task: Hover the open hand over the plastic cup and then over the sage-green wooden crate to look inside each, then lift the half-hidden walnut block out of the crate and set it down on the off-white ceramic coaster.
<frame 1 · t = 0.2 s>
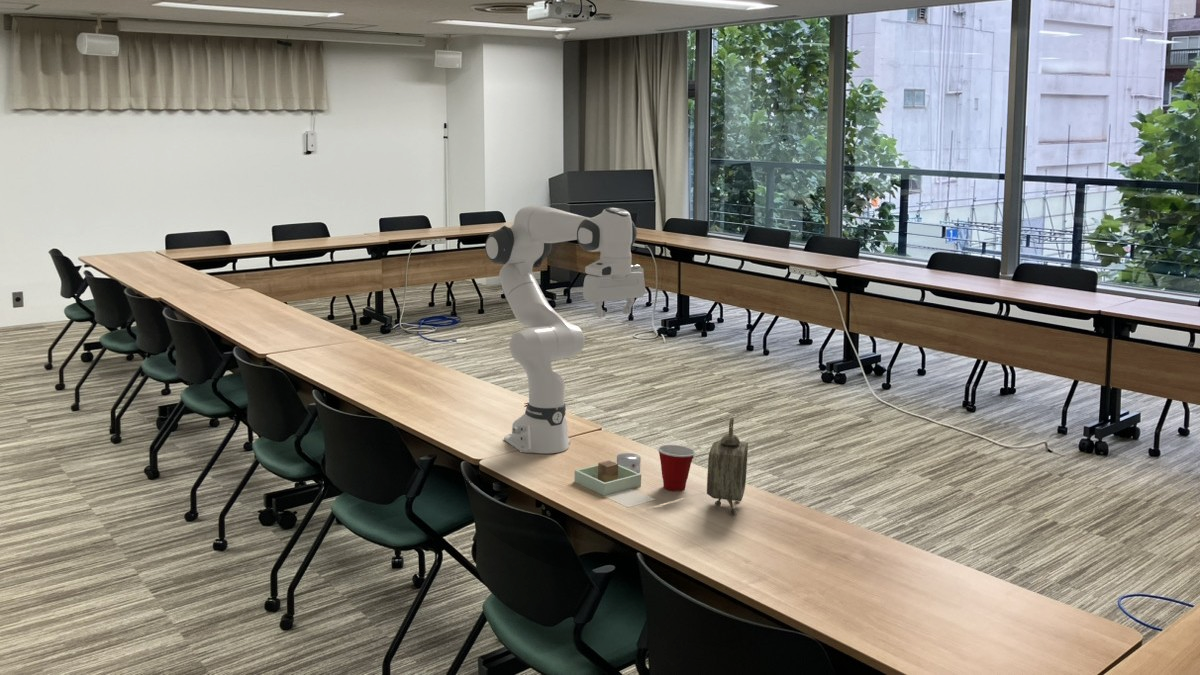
hand: (614, 315, 290), 48 cm above the table, fingers open, 8 cm apart
crate: (607, 485, 291), on the table
coaster: (629, 499, 280), on the table
plastic cup: (674, 489, 290), on the table
walnut block: (607, 483, 291), point 1 cm above the table, touching crate
metal tin: (628, 473, 302), on the table
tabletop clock: (725, 507, 277), on the table
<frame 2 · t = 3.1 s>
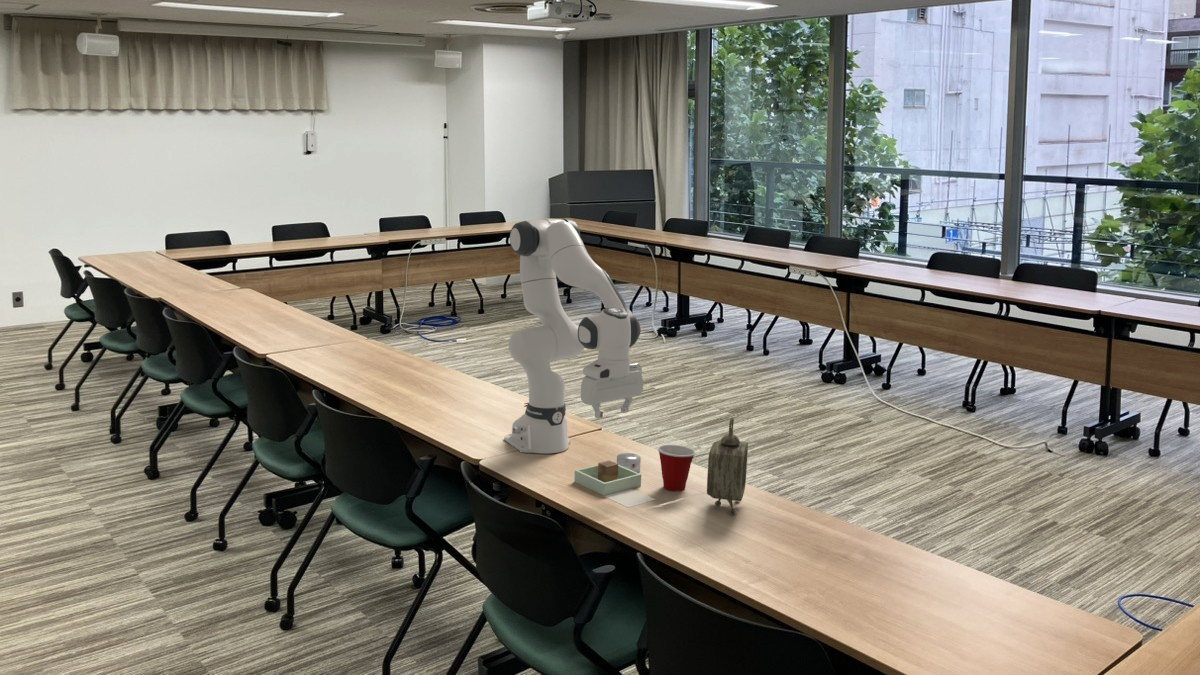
hand: (611, 414, 287), 21 cm above the table, fingers open, 8 cm apart
nothing on the table moved.
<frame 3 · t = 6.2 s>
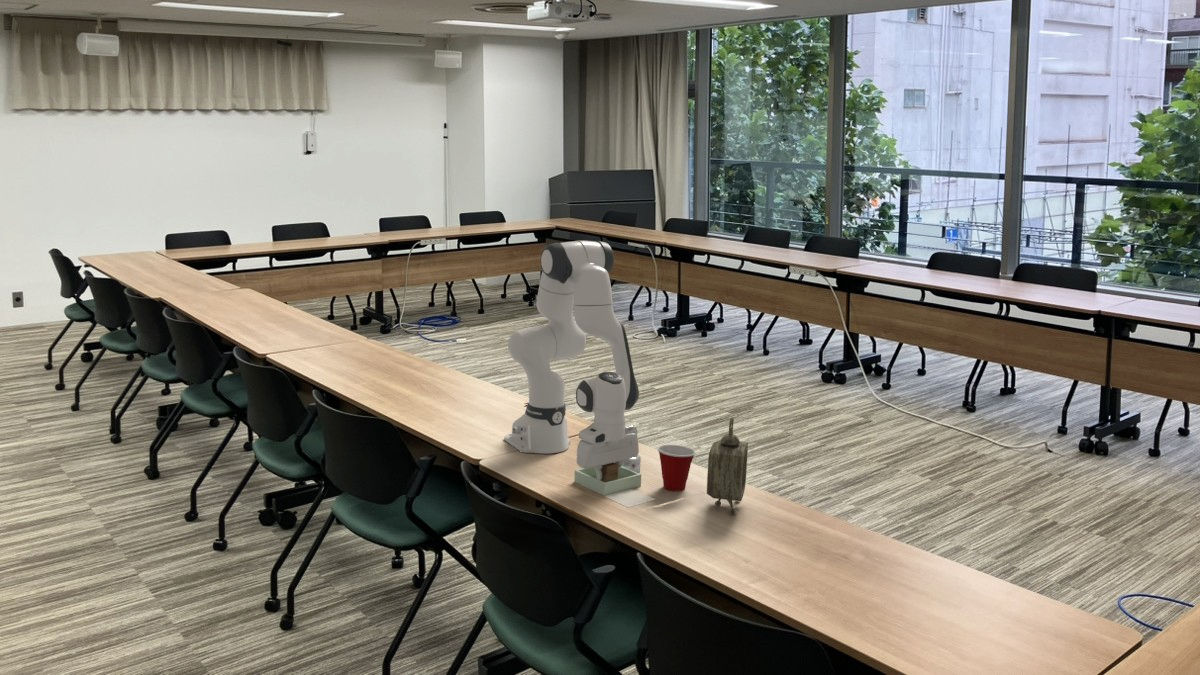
hand: (607, 477, 290), 3 cm above the table, fingers closed on walnut block, 4 cm apart
walnut block: (607, 483, 291), point 1 cm above the table, touching crate, gripper
everything else where it was.
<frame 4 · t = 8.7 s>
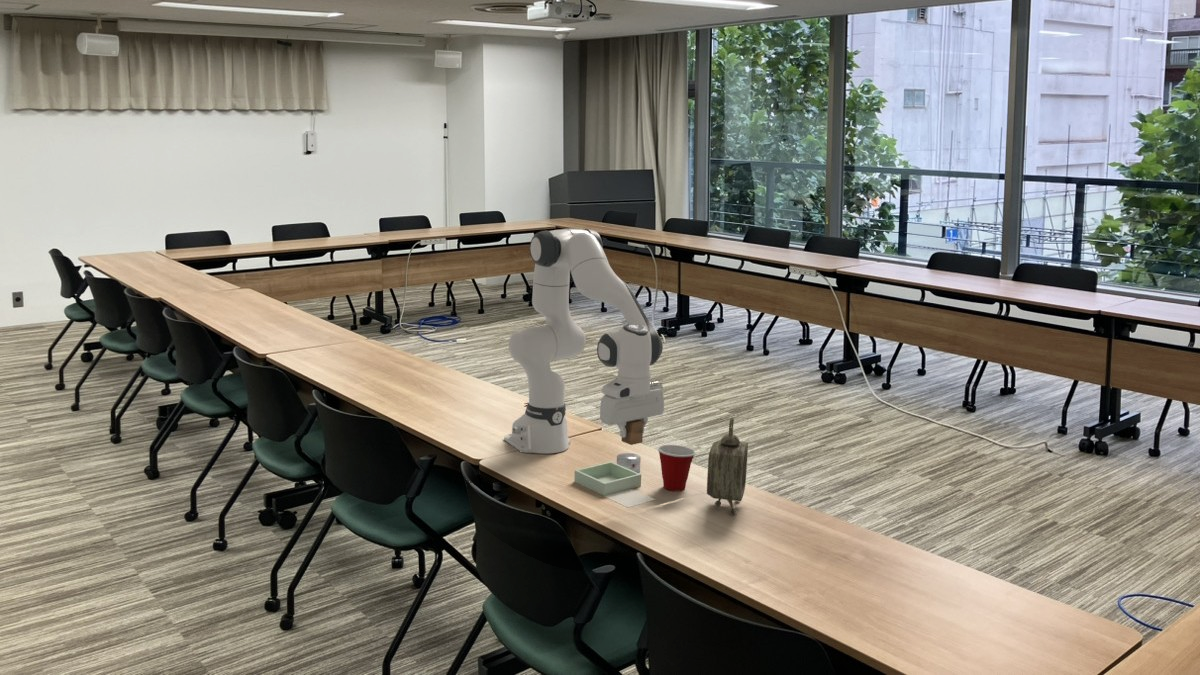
hand: (632, 435, 277), 19 cm above the table, fingers closed on walnut block, 4 cm apart
walnut block: (631, 441, 277), point 17 cm above the table, touching gripper
everything else where it was.
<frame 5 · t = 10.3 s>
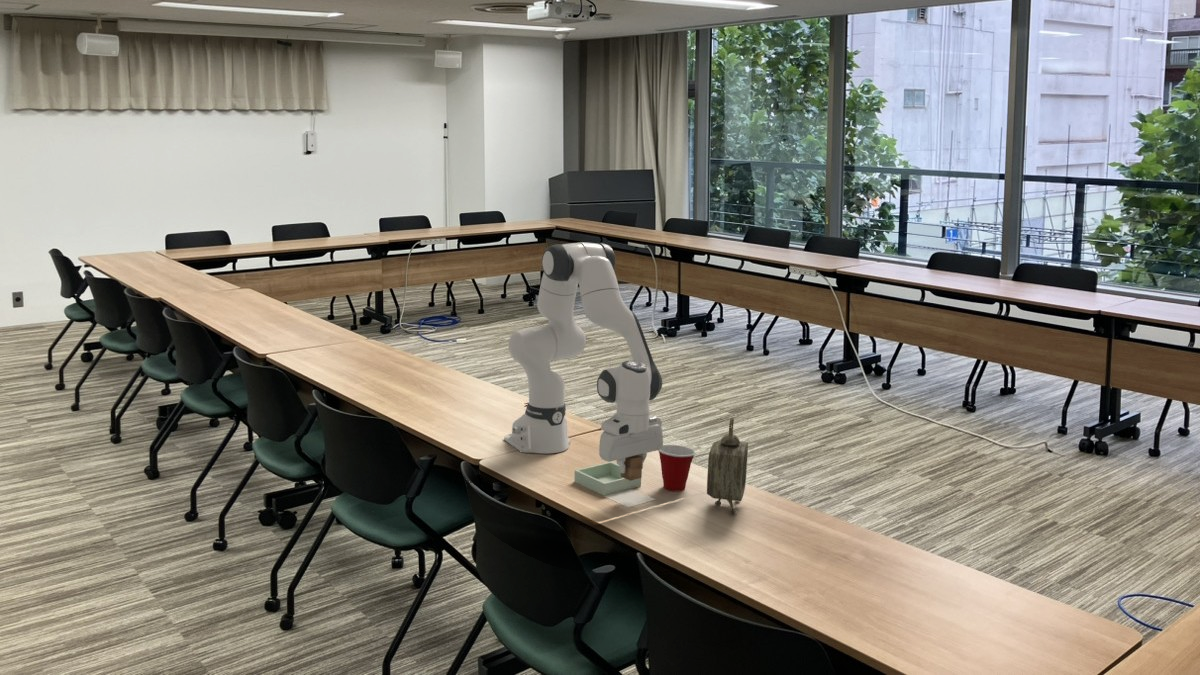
hand: (631, 470, 279), 8 cm above the table, fingers closed on walnut block, 4 cm apart
walnut block: (631, 477, 279), point 7 cm above the table, touching gripper
everything else where it was.
when the fingers open (4 cm above the table, at t = 11.5 s): walnut block drops 2 cm, resting on coaster.
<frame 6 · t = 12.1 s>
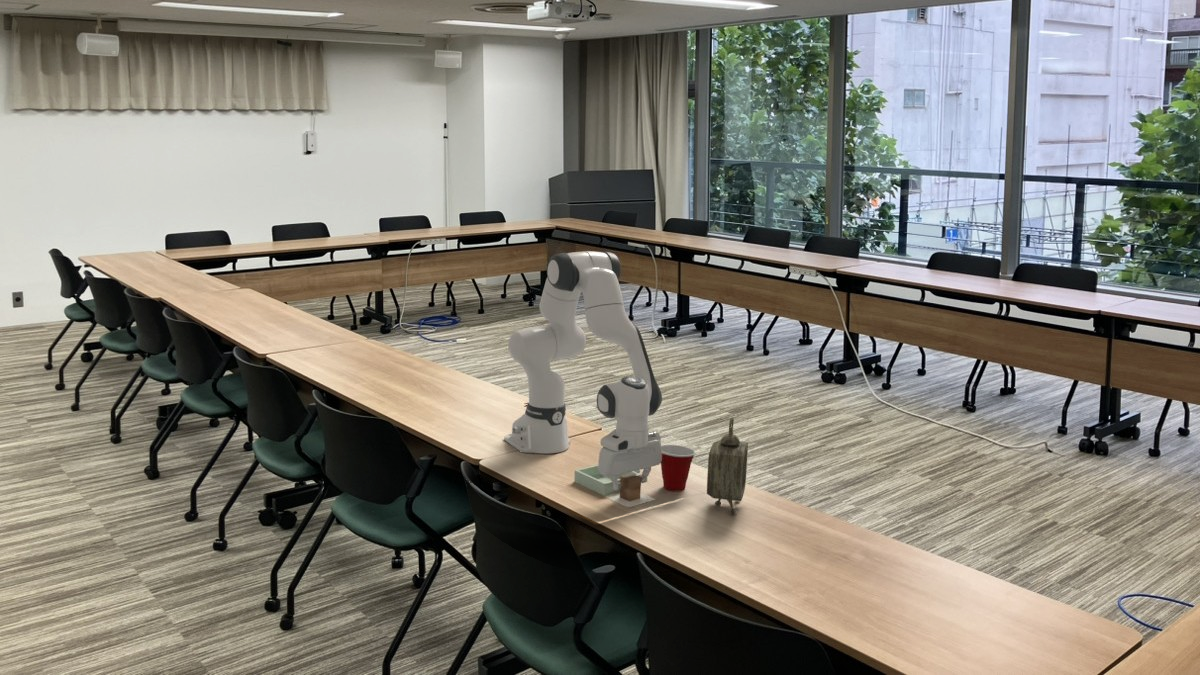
hand: (630, 485, 280), 4 cm above the table, fingers open, 8 cm apart
walnut block: (629, 497, 280), point 1 cm above the table, touching coaster
everything else where it was.
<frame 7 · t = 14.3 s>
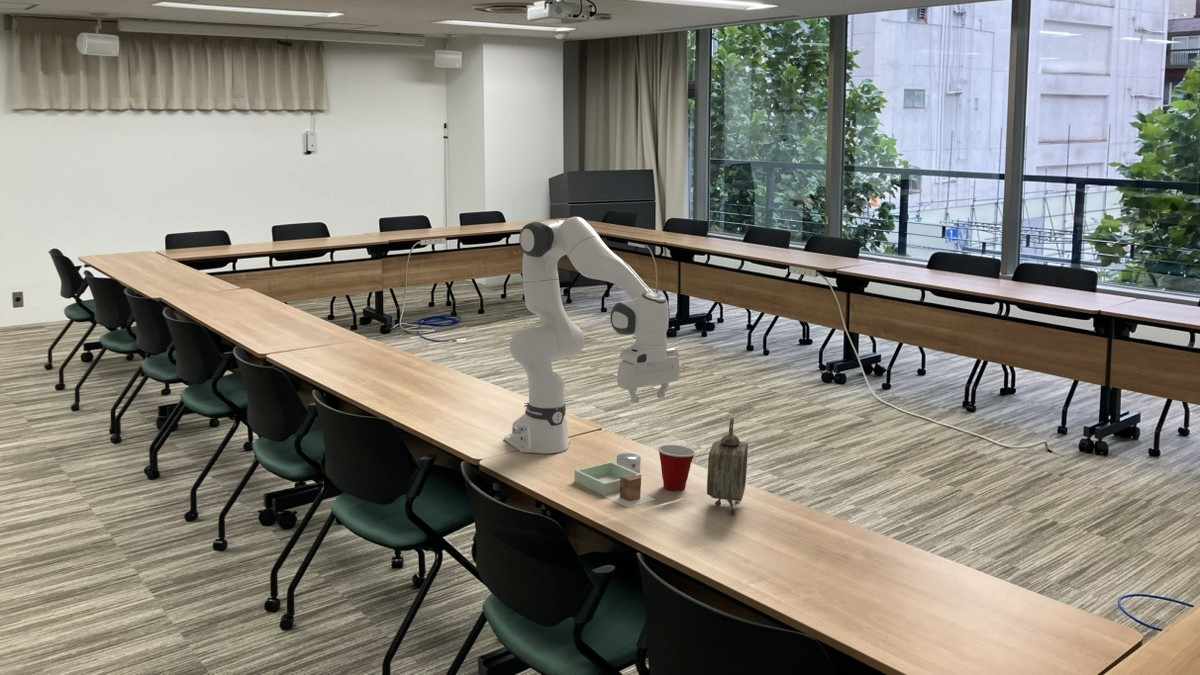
hand: (647, 400, 286), 25 cm above the table, fingers open, 8 cm apart
nothing on the table moved.
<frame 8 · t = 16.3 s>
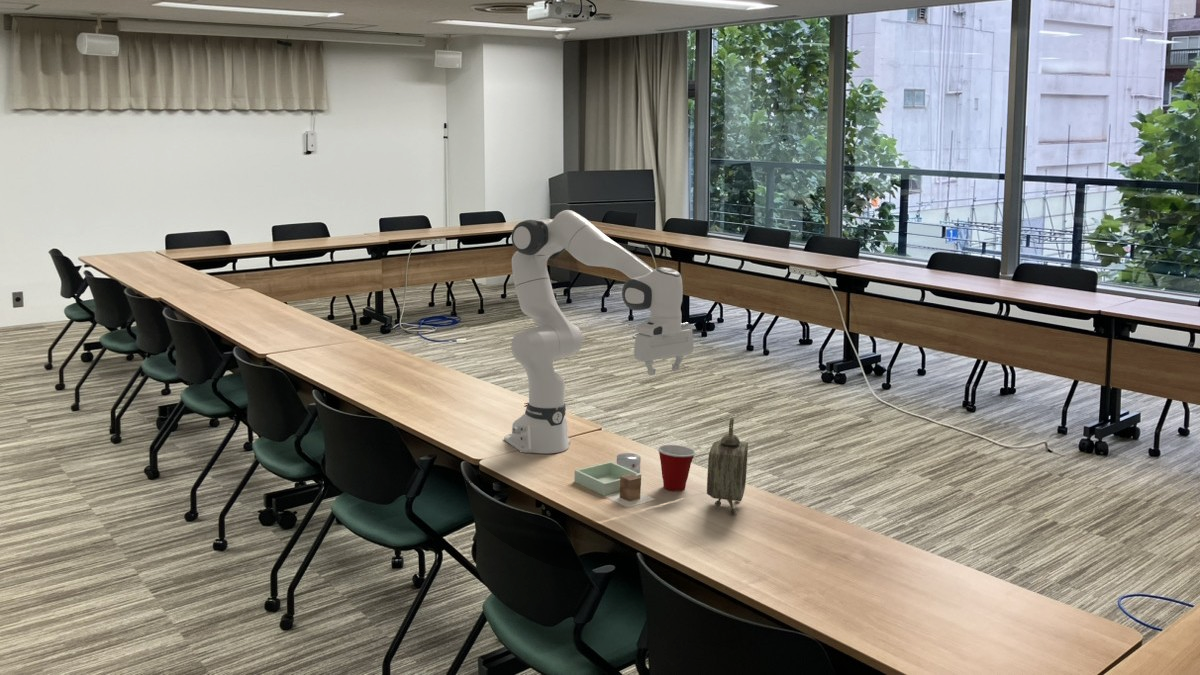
hand: (663, 372, 294), 31 cm above the table, fingers open, 8 cm apart
nothing on the table moved.
at the end: walnut block inside the target area on the coaster (0.0 cm from its centre), point 0.6 cm above the coaster's base; walnut block tilted 0°; the gripper is holding nothing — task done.
